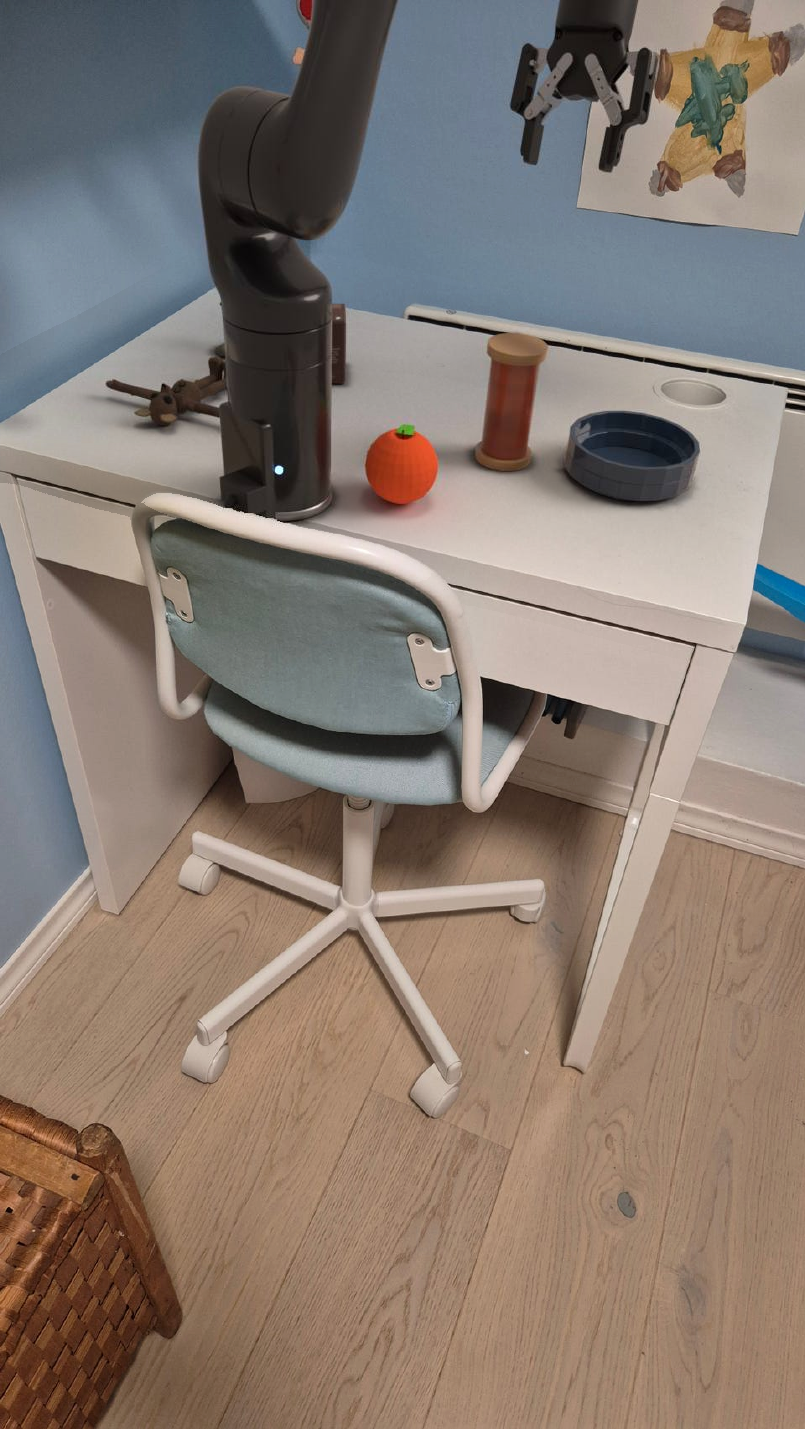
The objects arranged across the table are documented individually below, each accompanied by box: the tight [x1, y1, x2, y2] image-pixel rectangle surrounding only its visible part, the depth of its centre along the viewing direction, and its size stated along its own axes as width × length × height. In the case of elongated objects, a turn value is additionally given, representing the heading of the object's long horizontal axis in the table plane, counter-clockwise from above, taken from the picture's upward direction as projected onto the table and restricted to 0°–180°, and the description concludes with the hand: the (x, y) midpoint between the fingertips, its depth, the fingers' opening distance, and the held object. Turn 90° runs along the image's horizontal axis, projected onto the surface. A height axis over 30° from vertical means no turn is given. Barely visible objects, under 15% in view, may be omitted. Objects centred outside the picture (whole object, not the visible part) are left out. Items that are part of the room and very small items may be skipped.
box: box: [332, 302, 347, 384], centre depth 114 cm, size 6×6×7 cm
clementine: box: [364, 423, 439, 505], centre depth 93 cm, size 8×7×7 cm
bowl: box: [564, 410, 701, 502], centre depth 100 cm, size 13×13×4 cm
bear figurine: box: [105, 356, 227, 427], centre depth 107 cm, size 18×4×14 cm
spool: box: [474, 332, 549, 472], centre depth 98 cm, size 6×6×12 cm
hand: (566, 167), depth 101 cm, fingers open, 8 cm apart
